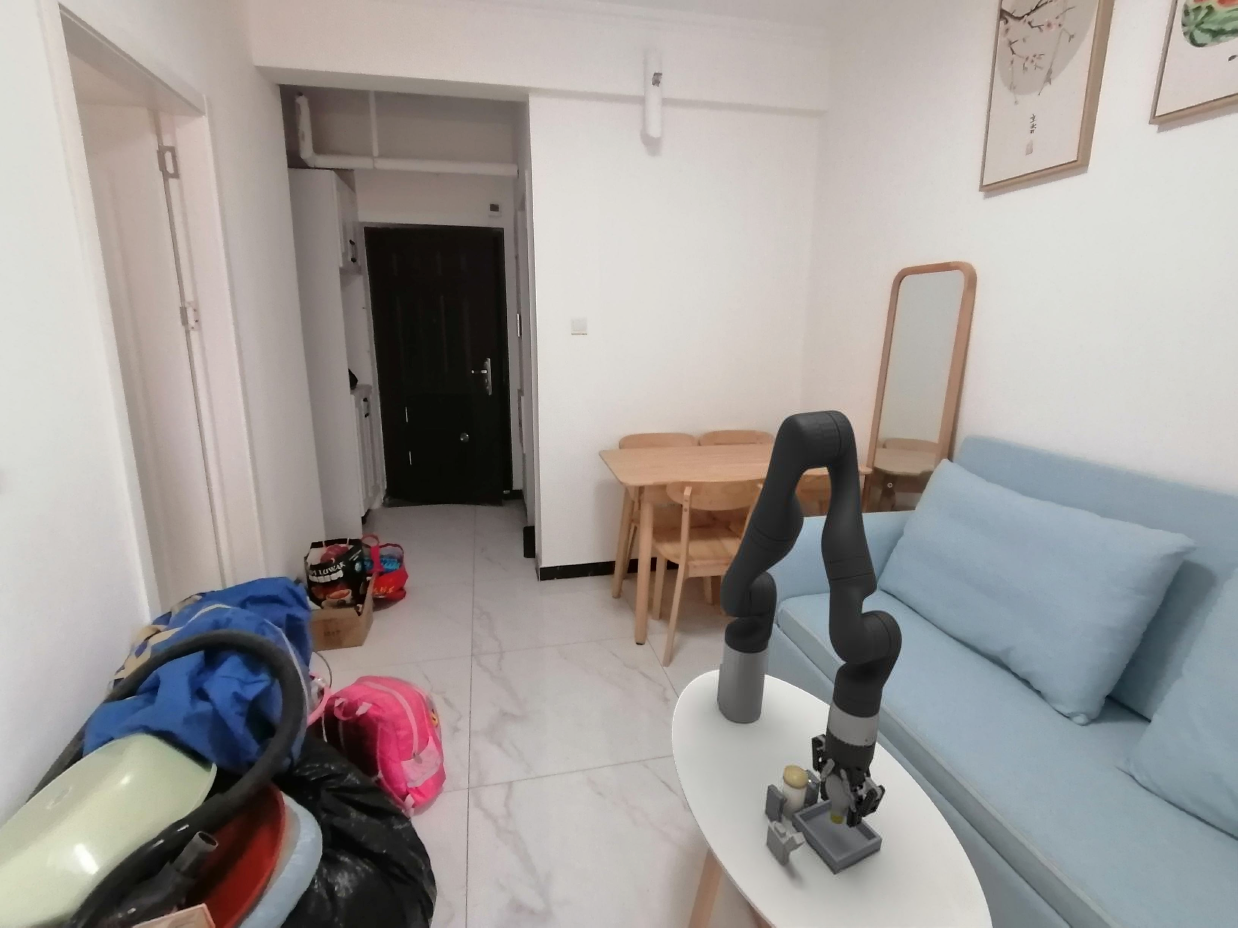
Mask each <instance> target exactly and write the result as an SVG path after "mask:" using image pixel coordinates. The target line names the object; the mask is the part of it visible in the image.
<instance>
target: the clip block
mask: <svg viewBox="0 0 1238 928" xmlns="http://www.w3.org/2000/svg"><path fill="white" fill-rule="evenodd" d="M804 770H805V771H806V772H807V774H808V784H807V787H806V793H805V800H804V804H806V805H807V807H810V806H813V805H815V804H817V803H819V802H818V801H819V794H820V785H821V779H820V778H818V777H817V776H816V775H815V774H814V773H813V772H812V770H810V769H808V768H807V769H804ZM781 792H782V791H781V790H780V789H779V788H778V786H776V785H775V784H771V783H770V785H767V789H766V799H765V805H764V806H765V807H764V815H765V816H766V817H768V819H769V820H770V821H771V822H774V821H777V822H778V823H781V824H782V819H783V815H782V813H783V805H784V803H785V802H786V801H787V798H786V797H785V796H784V795H783V794H782V793H781Z"/></svg>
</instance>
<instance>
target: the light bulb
mask: <svg viewBox="0 0 1238 928" xmlns="http://www.w3.org/2000/svg"><path fill="white" fill-rule="evenodd" d="M856 787H857V786H855V787H852V789H854V788H856ZM825 788H826V793H827V795H828V797H829V799H830V801H831V803H832V807H831V815H830V819H831V821H832V822H834V823H836V824H841V823H842V822H843V819H844V816H845V813H846V810H847V809H848V808H849V807H850V804H849V798H848V796H847V795H846V794H845V788H844V782H843V781H842V780H841V779H840V778H839V777H838V776H837V775H835V774H833V772H832V774H830V775H829V776H828V777H827V779H826V783H825ZM856 801H858V796H857V797H856Z"/></svg>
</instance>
